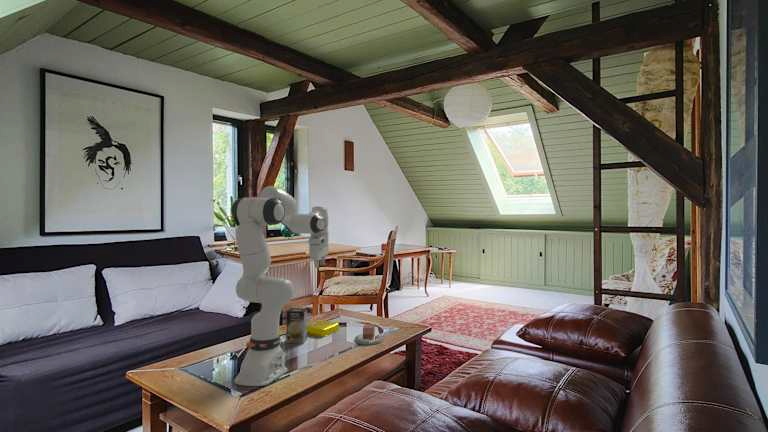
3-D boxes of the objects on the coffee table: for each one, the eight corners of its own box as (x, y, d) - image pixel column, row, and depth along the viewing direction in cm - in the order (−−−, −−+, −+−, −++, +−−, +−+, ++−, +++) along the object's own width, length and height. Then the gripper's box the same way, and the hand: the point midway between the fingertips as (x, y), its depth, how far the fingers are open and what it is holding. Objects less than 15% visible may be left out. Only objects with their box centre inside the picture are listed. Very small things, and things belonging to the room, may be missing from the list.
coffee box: (285, 343, 207) (285, 310, 206) (289, 339, 213) (289, 307, 213) (303, 344, 206) (303, 311, 205) (307, 339, 212) (307, 308, 212)
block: (372, 339, 209) (372, 327, 209) (362, 339, 210) (362, 327, 210) (374, 336, 214) (374, 324, 214) (364, 335, 215) (364, 324, 215)
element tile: (322, 338, 216) (322, 329, 216) (300, 333, 223) (300, 324, 223) (340, 330, 229) (340, 321, 229) (318, 326, 236) (318, 317, 236)
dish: (380, 345, 204) (380, 343, 204) (352, 343, 206) (352, 341, 206) (384, 336, 218) (384, 334, 218) (358, 334, 220) (358, 332, 220)
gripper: (319, 237, 223) (320, 262, 223) (307, 240, 203) (307, 269, 203) (331, 237, 222) (331, 263, 222) (319, 240, 202) (319, 269, 202)
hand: (319, 266), depth 213 cm, fingers open, 8 cm apart
